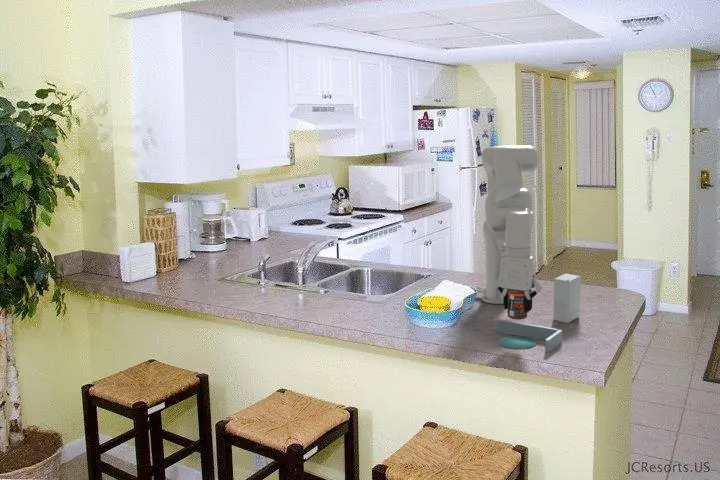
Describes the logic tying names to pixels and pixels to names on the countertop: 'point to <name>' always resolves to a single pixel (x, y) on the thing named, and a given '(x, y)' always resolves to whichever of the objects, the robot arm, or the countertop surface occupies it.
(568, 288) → the skincare box
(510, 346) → the pad
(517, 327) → the divider wall
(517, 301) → the supplement bottle
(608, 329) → the countertop surface
